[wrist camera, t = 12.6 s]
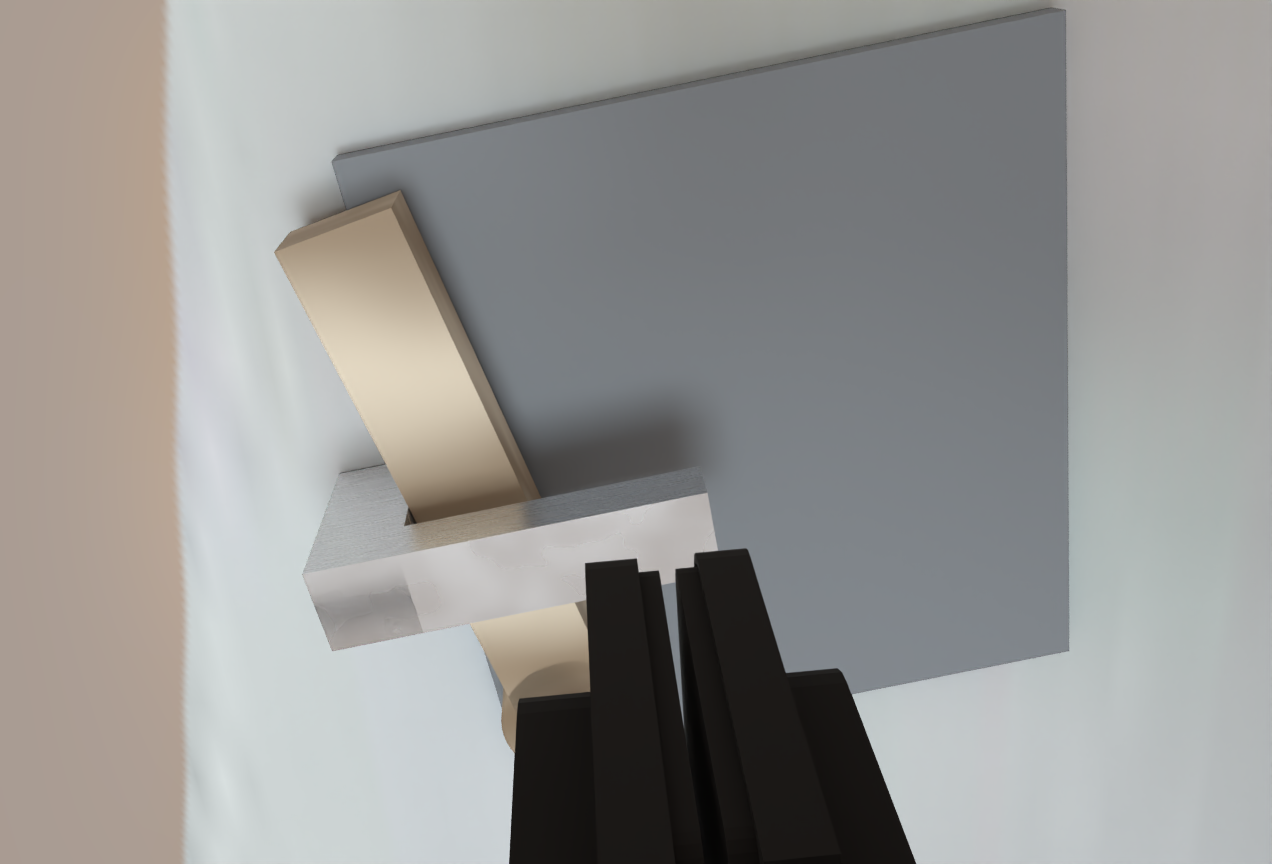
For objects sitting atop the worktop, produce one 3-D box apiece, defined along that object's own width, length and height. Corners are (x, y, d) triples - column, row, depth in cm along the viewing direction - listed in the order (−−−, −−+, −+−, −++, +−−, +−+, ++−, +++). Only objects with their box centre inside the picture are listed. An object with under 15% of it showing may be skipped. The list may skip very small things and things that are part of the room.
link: (661, 710, 34) (684, 863, 29) (534, 752, 35) (533, 911, 29) (426, 180, 27) (394, 250, 21) (264, 241, 27) (192, 326, 21)
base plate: (1052, 7, 27) (1065, 10, 26) (1058, 636, 36) (1069, 650, 35) (336, 155, 27) (331, 161, 26) (518, 743, 36) (518, 760, 35)
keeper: (682, 404, 31) (707, 492, 26) (695, 475, 32) (722, 572, 27) (338, 473, 31) (302, 574, 26) (363, 542, 32) (332, 651, 27)
